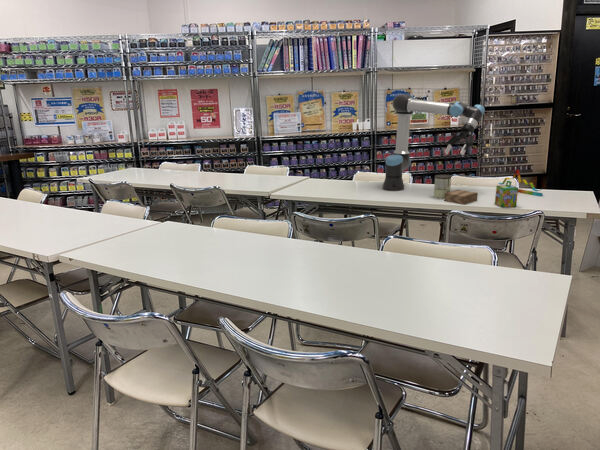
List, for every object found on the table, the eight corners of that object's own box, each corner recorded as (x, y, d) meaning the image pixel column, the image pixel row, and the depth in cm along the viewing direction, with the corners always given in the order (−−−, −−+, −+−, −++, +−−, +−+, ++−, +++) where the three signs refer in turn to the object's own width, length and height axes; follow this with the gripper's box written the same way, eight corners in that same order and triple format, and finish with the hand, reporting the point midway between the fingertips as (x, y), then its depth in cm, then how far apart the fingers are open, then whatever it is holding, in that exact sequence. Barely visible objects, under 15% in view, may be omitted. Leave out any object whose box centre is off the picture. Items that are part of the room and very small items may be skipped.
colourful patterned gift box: (494, 203, 283) (496, 179, 279) (508, 203, 284) (511, 179, 279) (501, 207, 274) (504, 182, 270) (516, 206, 275) (519, 182, 271)
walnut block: (444, 200, 294) (445, 193, 293) (457, 197, 302) (458, 189, 301) (464, 204, 284) (464, 196, 282) (477, 200, 292) (477, 192, 290)
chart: (542, 196, 299) (545, 172, 295) (539, 196, 297) (542, 173, 293) (500, 188, 324) (502, 167, 320) (497, 189, 322) (499, 167, 318)
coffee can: (432, 195, 309) (433, 174, 305) (448, 195, 308) (449, 174, 304) (435, 199, 299) (436, 177, 295) (451, 199, 298) (453, 177, 294)
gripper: (487, 129, 294) (471, 157, 292) (457, 130, 316) (442, 156, 314) (481, 122, 291) (465, 150, 288) (451, 123, 313) (436, 149, 310)
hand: (453, 153), depth 301 cm, fingers open, 13 cm apart
